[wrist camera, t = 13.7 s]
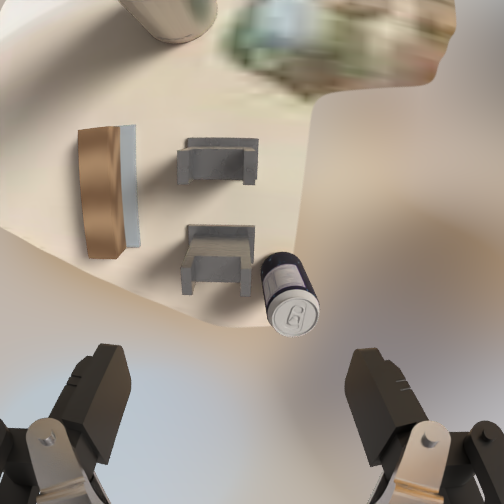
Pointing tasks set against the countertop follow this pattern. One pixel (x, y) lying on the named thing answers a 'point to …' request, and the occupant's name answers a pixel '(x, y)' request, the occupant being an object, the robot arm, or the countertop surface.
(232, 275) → the grey bracket
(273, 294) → the beverage can
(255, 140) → the grey metal bracket
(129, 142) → the mat
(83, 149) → the rail
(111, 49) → the countertop surface
